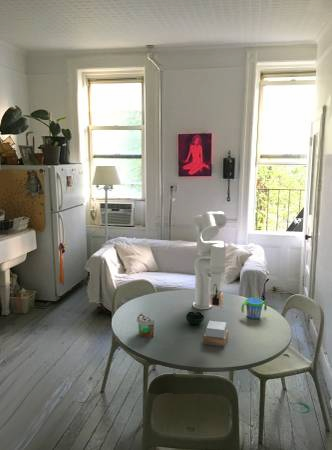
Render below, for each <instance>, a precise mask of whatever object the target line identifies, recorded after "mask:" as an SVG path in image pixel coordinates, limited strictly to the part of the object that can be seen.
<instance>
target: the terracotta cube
mask: <svg viewBox="0 0 332 450" xmlns="http://www.w3.org/2000/svg"><path fill="white" fill-rule="evenodd" d="M216 294H217V293H216ZM212 297H213V291H212V292H211V293H210V305H212ZM218 298H219V305H218V306H217V305H212V307H222V306H223V304H224V292H222V291H221V292H219V295H218Z"/></svg>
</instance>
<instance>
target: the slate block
mask: <svg viewBox="0 0 332 450" xmlns="http://www.w3.org/2000/svg"><path fill="white" fill-rule="evenodd" d="M205 328H206V330H205V332H206V336H210V337H217V338H224V336H225V333H226V330H227V322H225V321H216V320H209V321H208V323H207V326H206V327H205Z"/></svg>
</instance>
